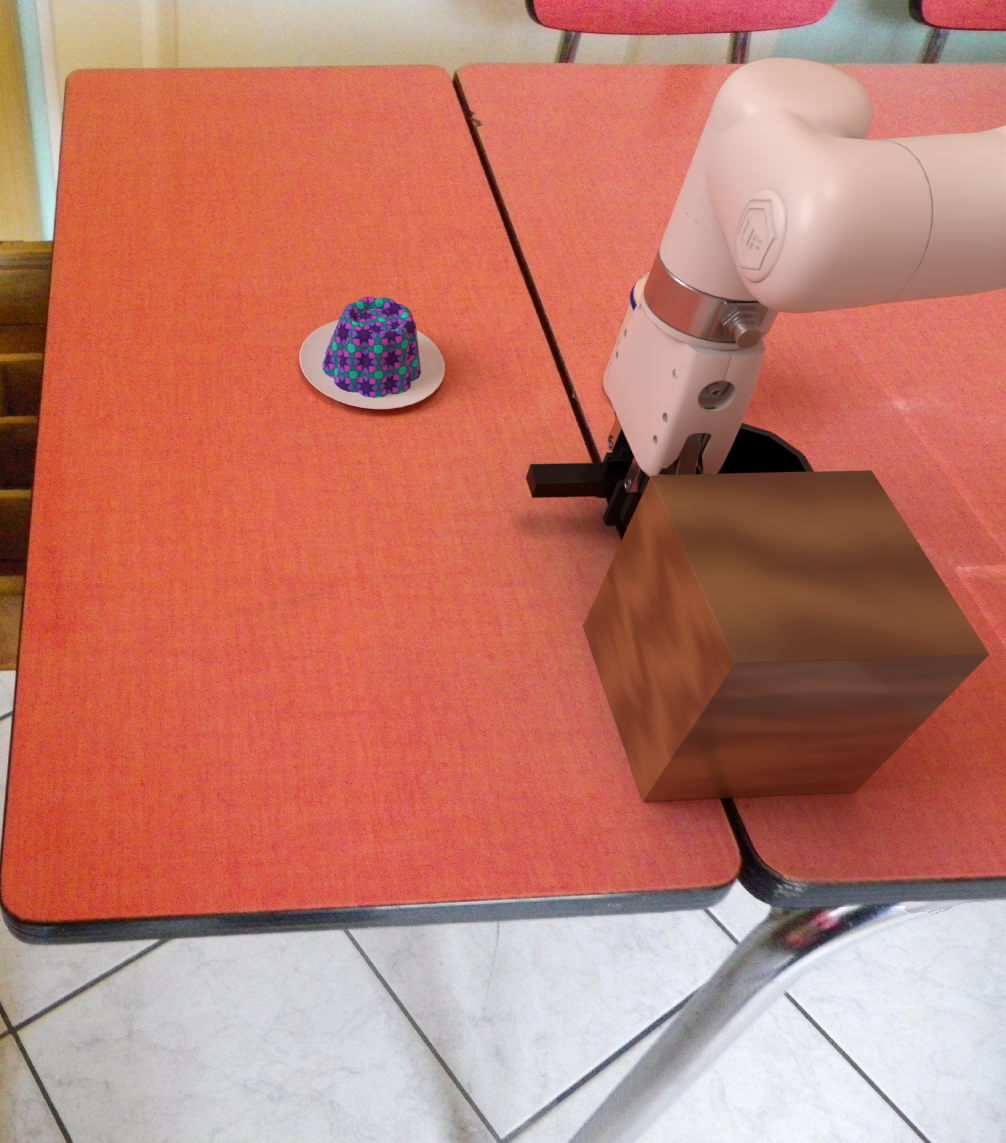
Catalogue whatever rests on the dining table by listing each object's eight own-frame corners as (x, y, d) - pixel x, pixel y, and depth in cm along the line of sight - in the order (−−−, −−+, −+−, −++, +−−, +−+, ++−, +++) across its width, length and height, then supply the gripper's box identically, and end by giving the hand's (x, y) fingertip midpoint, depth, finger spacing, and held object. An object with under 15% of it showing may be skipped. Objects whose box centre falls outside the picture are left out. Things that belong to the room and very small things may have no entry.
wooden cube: (855, 792, 62) (990, 654, 52) (642, 801, 61) (734, 663, 51) (770, 619, 71) (871, 469, 60) (582, 625, 70) (650, 475, 59)
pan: (756, 468, 80) (784, 419, 76) (809, 568, 74) (842, 519, 70) (502, 473, 79) (517, 423, 75) (533, 575, 72) (551, 526, 69)
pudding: (407, 314, 92) (417, 262, 88) (468, 400, 84) (481, 347, 80) (278, 337, 89) (282, 284, 85) (329, 428, 82) (335, 375, 78)
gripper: (832, 377, 56) (706, 593, 70) (727, 216, 66) (636, 432, 80) (696, 379, 56) (597, 596, 70) (612, 216, 66) (540, 434, 80)
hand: (618, 507), depth 75 cm, fingers closed on pan
